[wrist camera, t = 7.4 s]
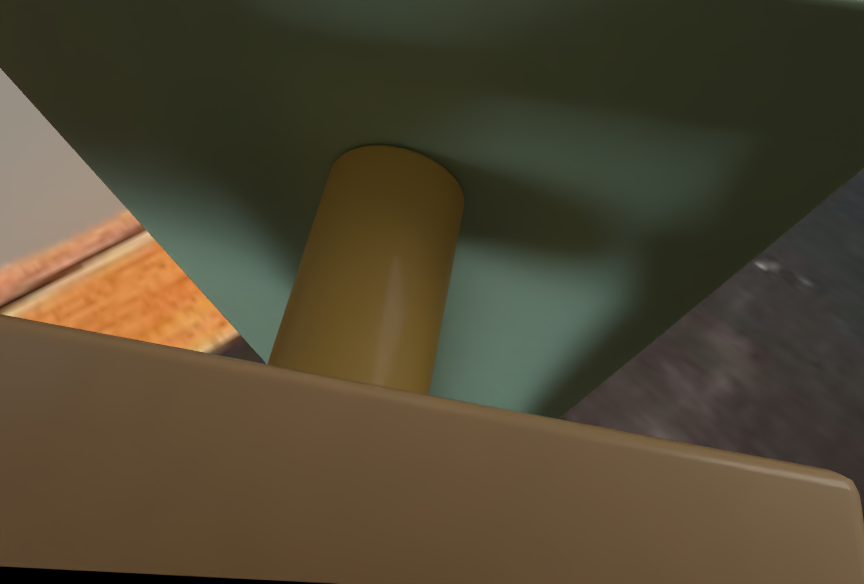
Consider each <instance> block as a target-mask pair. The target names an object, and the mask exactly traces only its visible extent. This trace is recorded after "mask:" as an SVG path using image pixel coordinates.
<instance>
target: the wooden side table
mask: <svg viewBox="0 0 864 584" xmlns="http://www.w3.org/2000/svg"><path fill="white" fill-rule="evenodd" d="M0 584H864V522H863V515H862V508H861V501H860V494H859V492H858V490H857V488H856V486H855V485H854V483H853V481H852V480H850V479H848V478H846V477H844V476H842V475H840V474H838V473H836V472H833V471H831V470H828V469H823V468H817V467H812V466H807V465H801V464H796V463H791V462H785V461H780V460H775V459H769V458H764V457H759V456H753V455H748V454H743V453H737V452H732V451H727V450H721V449H716V448H711V447H705V446H700V445H695V444H689V443H684V442H679V441H673V440H668V439H663V438H657V437H652V436H647V435H641V434H636V433H631V432H625V431H620V430H615V429H609V428H604V427H598V426H593V425H588V424H582V423H577V422H572V421H566V420H561V419H556V418H550V417H545V416H540V415H534V414H529V413H524V412H518V411H513V410H508V409H502V408H497V407H492V406H486V405H481V404H476V403H470V402H465V401H460V400H454V399H449V398H444V397H438V396H433V395H428V394H422V393H417V392H412V391H406V390H401V389H396V388H390V387H385V386H380V385H374V384H369V383H364V382H358V381H353V380H348V379H342V378H337V377H331V376H326V375H321V374H315V373H310V372H305V371H299V370H294V369H289V368H283V367H278V366H273V365H267V364H262V363H257V362H251V361H246V360H241V359H235V358H230V357H225V356H219V355H214V354H209V353H203V352H198V351H193V350H187V349H182V348H177V347H171V346H166V345H161V344H155V343H150V342H145V341H139V340H134V339H129V338H123V337H118V336H113V335H107V334H102V333H97V332H91V331H86V330H81V329H75V328H70V327H65V326H59V325H54V324H48V323H43V322H38V321H32V320H27V319H22V318H16V317H11V316H6V315H0Z"/></svg>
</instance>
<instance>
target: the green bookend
mask: <svg viewBox="0 0 864 584" xmlns="http://www.w3.org/2000/svg"><path fill="white" fill-rule="evenodd" d="M0 68H1V69H2V70H3V71H4V72H5V74H6V75H7V76H8V77H9V78H10V79H11V80H12V81H13V82H14V84H15V85H16V86H17V87H18V88H19V89H20V90H21V91H22V92H23V94H24V95H25V96H26V97H27V98H28V99H29V100H30V101H31V102H32V103H33V104H34V106H35V107H36V108H37V109H38V110H39V111H40V112H41V114H42V115H43V116H44V117H45V118H46V119H47V120H48V121H49V122H50V124H51V125H52V126H53V127H54V128H55V129H56V130H57V131H58V132H59V133H60V135H61V136H62V137H63V138H64V139H65V140H66V141H67V142H68V144H69V145H70V146H71V147H72V148H73V149H74V150H75V151H76V152H77V153H78V155H79V156H80V157H81V158H82V159H83V160H84V161H85V162H86V164H87V165H89V167H90V168H91V169H92V170H93V171H94V172H95V174H96V175H97V176H98V177H99V178H100V179H101V180H102V181H103V182H104V184H105V185H106V186H107V187H108V188H109V189H110V190H111V191H112V192H113V194H114V195H115V196H116V197H117V198H118V199H119V200H120V201H121V202H122V203H123V205H124V206H125V207H126V208H127V209H128V210H129V211H130V212H131V214H132V215H133V216H134V217H135V218H136V219H137V220H138V221H139V222H140V224H141V225H142V226H143V227H144V228H145V229H146V230H147V231H148V232H149V234H150V235H151V236H152V237H153V238H154V239H155V240H156V241H157V242H158V244H159V245H160V246H161V247H162V248H163V249H164V250H165V251H166V252H167V254H168V255H169V256H170V257H171V258H172V259H173V260H174V261H175V262H176V264H177V265H178V266H179V267H180V268H181V269H182V270H183V271H184V272H185V274H186V275H187V276H188V277H189V278H190V279H191V280H192V281H193V282H194V284H195V285H196V286H197V287H198V288H199V289H200V290H201V291H202V292H203V294H204V295H205V296H206V297H207V298H208V299H209V300H210V301H211V302H212V304H213V305H214V306H215V307H216V308H217V309H218V310H219V311H220V312H221V314H222V315H223V316H224V317H225V318H226V319H227V320H228V321H229V322H230V324H231V325H232V326H233V327H234V328H235V329H236V330H237V331H238V332H239V334H240V335H241V336H242V337H243V338H244V339H245V340H246V341H247V342H248V344H249V345H250V346H251V347H252V348H253V349H254V350H255V351H256V352H257V354H258V355H259V356H260V357H261V358H262V359H263V360H264V361H265V362H266V364H267V365H273V366H278V367H283V368H289V369H294V370H299V371H305V372H310V373H315V374H321V375H326V376H331V377H337V378H342V379H348V380H353V381H358V382H364V383H369V384H374V385H380V386H385V387H390V388H396V389H401V390H406V391H412V392H417V393H422V394H428V395H433V396H438V397H444V398H449V399H454V400H460V401H465V402H470V403H476V404H481V405H486V406H492V407H497V408H502V409H508V410H513V411H518V412H524V413H529V414H534V415H540V416H545V417H550V418H556V419H559V418H560V417H562V416H563V415H564V414H565V413H567V412H568V411H569V410H570V409H571V408H573V407H574V406H575V405H576V404H577V403H579V402H580V401H581V400H582V399H584V398H585V397H586V396H587V395H588V394H590V393H591V392H592V391H593V390H595V389H596V388H597V387H598V386H599V385H601V384H602V383H603V382H604V381H605V380H607V379H608V378H609V377H610V376H612V375H613V374H614V373H615V372H616V371H618V370H619V369H620V368H621V367H623V366H624V365H625V364H626V363H627V362H629V361H630V360H631V359H632V358H633V357H635V356H636V355H637V354H638V353H640V352H641V351H642V350H643V349H644V348H646V347H647V346H648V345H649V344H651V343H652V342H653V341H654V340H655V339H657V338H658V337H659V336H660V335H661V334H663V333H664V332H665V331H666V330H668V329H669V328H670V327H671V326H672V325H674V324H675V323H676V322H677V321H679V320H680V319H681V318H682V317H683V316H685V315H686V314H687V313H688V312H689V311H691V310H692V309H693V308H694V307H696V306H697V305H698V304H699V303H700V302H702V301H703V300H704V299H705V298H707V297H708V296H709V295H710V294H711V293H713V292H714V291H715V290H716V289H717V288H719V287H720V286H721V285H722V284H724V283H725V282H726V281H727V280H728V279H730V278H731V277H732V276H733V275H735V274H736V273H737V272H738V271H739V270H741V269H742V268H743V267H744V266H745V265H747V264H748V263H749V262H750V261H752V260H753V259H754V258H755V257H756V256H758V255H759V254H760V253H761V252H763V251H764V250H765V249H766V248H767V247H769V246H770V245H771V244H772V243H773V242H775V241H776V240H777V239H778V238H780V237H781V236H782V235H783V234H784V233H786V232H787V231H788V230H789V229H791V228H792V227H793V226H794V225H795V224H797V223H798V222H799V221H800V220H801V219H803V218H804V217H805V216H806V215H808V214H809V213H810V212H811V211H812V210H814V209H815V208H816V207H817V206H819V205H820V204H821V203H822V202H823V201H825V200H826V199H827V198H828V197H829V196H831V195H832V194H833V193H834V192H836V191H837V190H838V189H839V188H840V187H842V186H843V185H844V184H845V183H847V182H848V181H849V180H850V179H851V178H853V177H854V176H855V175H856V174H857V173H859V172H860V171H861V170H862V169H864V0H0Z"/></svg>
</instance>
